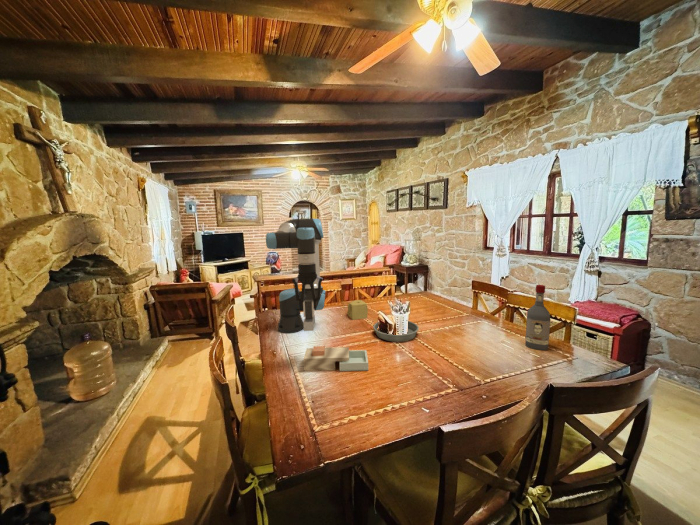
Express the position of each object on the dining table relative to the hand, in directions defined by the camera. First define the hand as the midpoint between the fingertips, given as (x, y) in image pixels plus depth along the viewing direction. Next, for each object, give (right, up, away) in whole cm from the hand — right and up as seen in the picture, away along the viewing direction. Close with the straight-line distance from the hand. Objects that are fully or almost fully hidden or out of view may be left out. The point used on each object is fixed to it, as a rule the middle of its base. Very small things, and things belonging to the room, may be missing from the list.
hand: (309, 315), depth 128 cm
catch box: (+20, -21, -2) cm, 29 cm away
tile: (+5, -16, -2) cm, 17 cm away
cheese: (+23, -12, +61) cm, 66 cm away
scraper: (0, -5, +1) cm, 5 cm away
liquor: (+109, -17, +12) cm, 111 cm away
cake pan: (+43, -16, +31) cm, 56 cm away
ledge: (+8, -21, -2) cm, 23 cm away
